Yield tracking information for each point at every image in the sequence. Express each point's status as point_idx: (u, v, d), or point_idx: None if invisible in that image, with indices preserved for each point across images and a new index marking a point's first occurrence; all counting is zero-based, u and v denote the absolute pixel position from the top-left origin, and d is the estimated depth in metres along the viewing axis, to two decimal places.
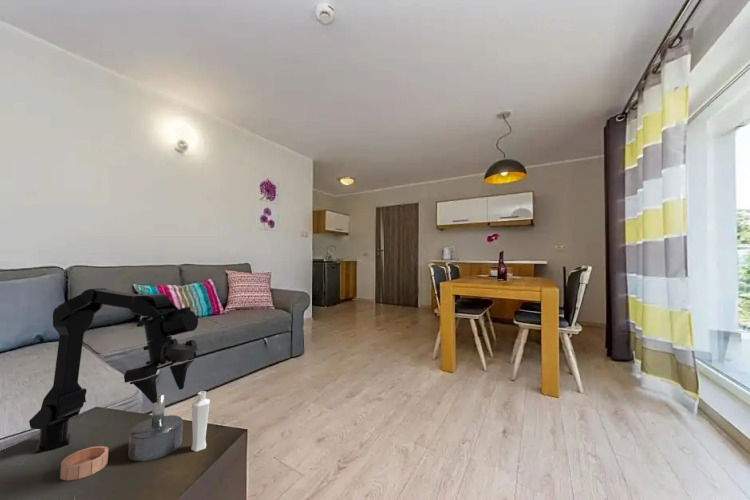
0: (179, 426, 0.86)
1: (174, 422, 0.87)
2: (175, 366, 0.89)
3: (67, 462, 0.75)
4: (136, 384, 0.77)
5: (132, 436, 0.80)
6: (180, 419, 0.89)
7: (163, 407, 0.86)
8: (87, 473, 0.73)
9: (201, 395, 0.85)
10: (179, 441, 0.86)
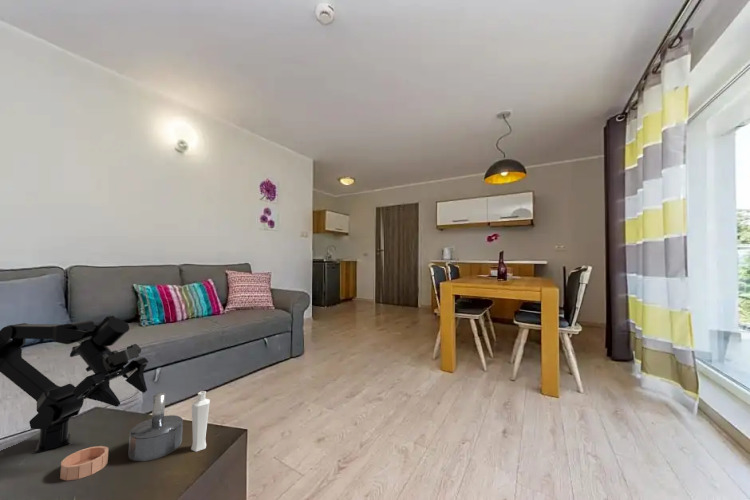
0: (179, 426, 0.86)
1: (174, 422, 0.87)
2: (130, 376, 0.91)
3: (67, 462, 0.75)
4: (91, 397, 0.80)
5: (132, 436, 0.80)
6: (180, 419, 0.89)
7: (163, 407, 0.86)
8: (87, 473, 0.73)
9: (201, 395, 0.85)
10: (179, 441, 0.86)
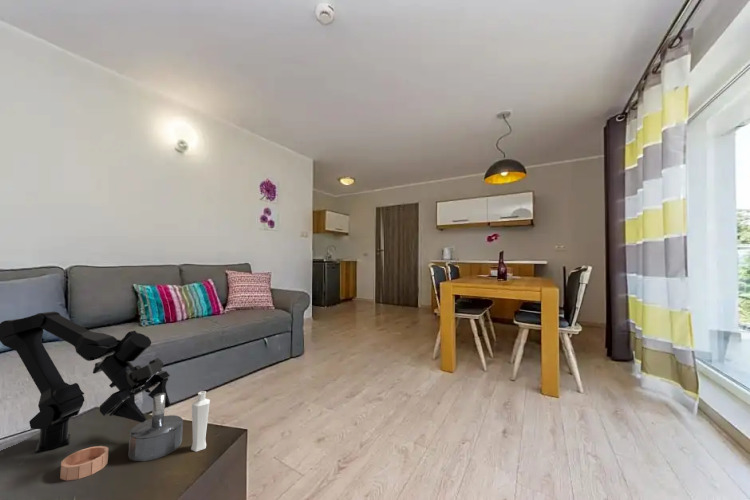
0: (179, 426, 0.86)
1: (174, 422, 0.87)
2: (153, 391, 0.91)
3: (67, 462, 0.75)
4: (117, 414, 0.79)
5: (132, 436, 0.80)
6: (180, 419, 0.89)
7: (163, 407, 0.86)
8: (87, 473, 0.73)
9: (201, 395, 0.85)
10: (179, 441, 0.86)
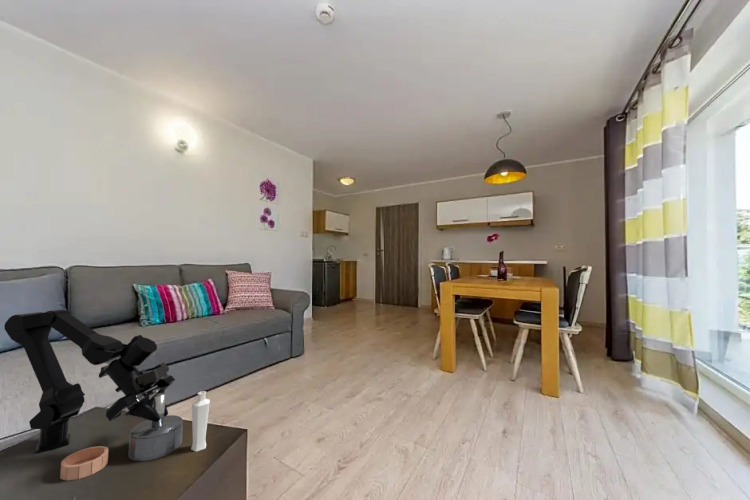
0: (179, 426, 0.86)
1: (174, 422, 0.87)
2: (150, 400, 0.88)
3: (67, 462, 0.75)
4: (132, 414, 0.82)
5: (132, 436, 0.80)
6: (180, 419, 0.89)
7: (163, 407, 0.86)
8: (87, 473, 0.73)
9: (201, 395, 0.85)
10: (179, 441, 0.86)
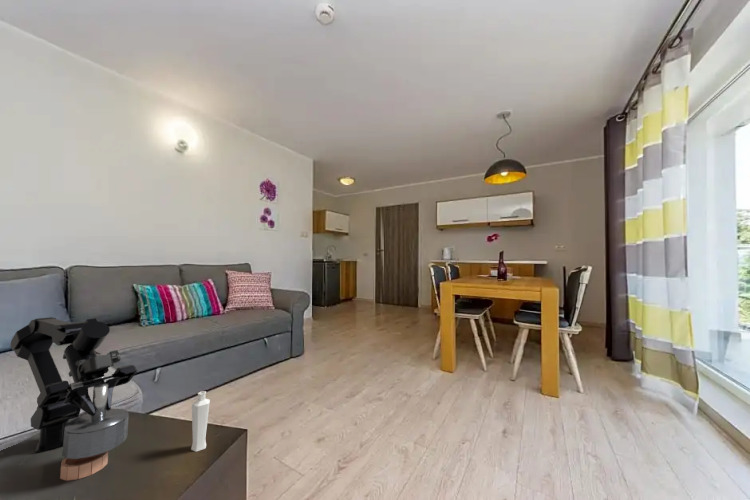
0: (113, 425, 0.75)
1: (114, 419, 0.78)
2: None
3: (67, 462, 0.75)
4: (72, 402, 0.76)
5: (65, 427, 0.74)
6: (124, 416, 0.79)
7: (103, 400, 0.77)
8: (87, 473, 0.73)
9: (201, 395, 0.85)
10: (114, 442, 0.75)
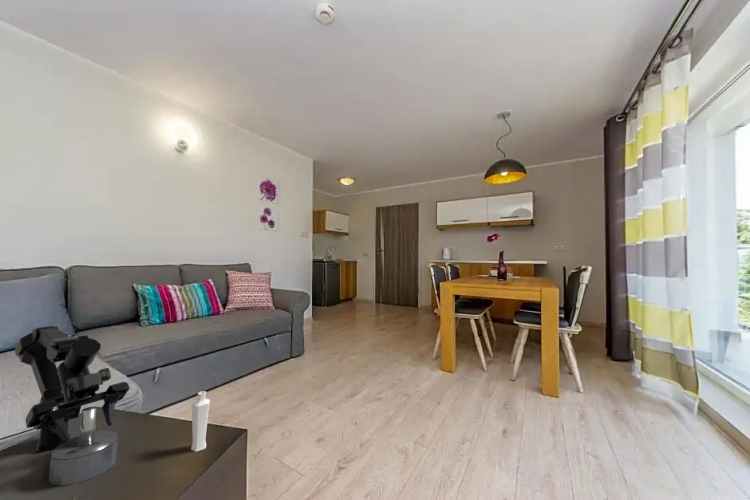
0: (99, 450, 0.74)
1: (102, 443, 0.76)
2: (104, 404, 0.82)
3: None
4: (47, 426, 0.73)
5: (52, 452, 0.73)
6: (112, 440, 0.77)
7: (90, 424, 0.76)
8: None
9: (201, 395, 0.85)
10: (100, 468, 0.74)
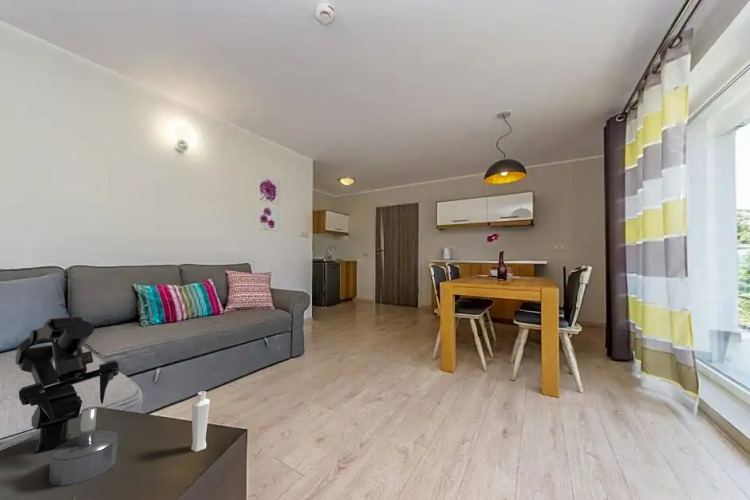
0: (99, 450, 0.74)
1: (102, 443, 0.76)
2: None
3: None
4: (39, 405, 0.77)
5: (52, 452, 0.73)
6: (112, 440, 0.77)
7: (90, 424, 0.76)
8: None
9: (201, 395, 0.85)
10: (100, 468, 0.74)
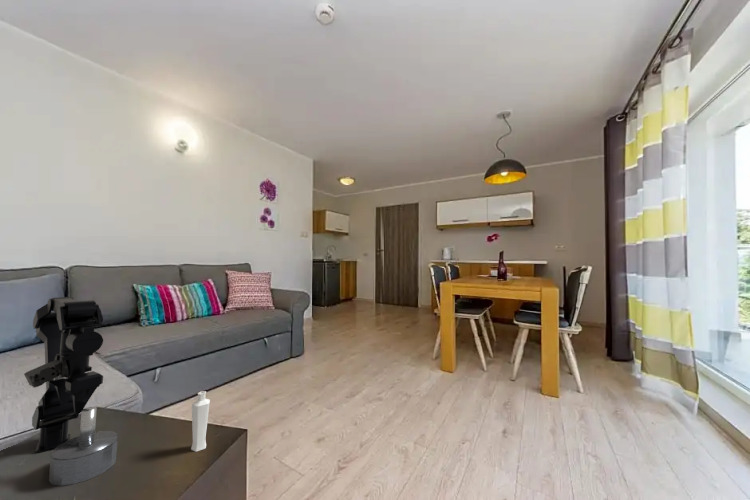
0: (99, 450, 0.74)
1: (102, 443, 0.76)
2: None
3: None
4: None
5: (52, 452, 0.73)
6: (112, 440, 0.77)
7: (90, 424, 0.76)
8: None
9: (201, 395, 0.85)
10: (100, 468, 0.74)
